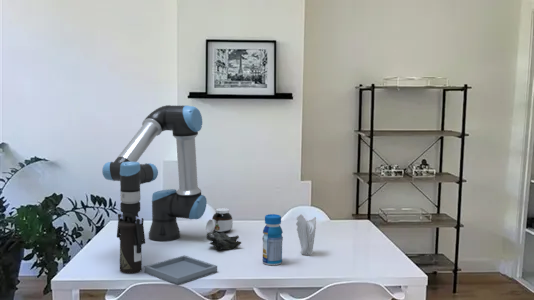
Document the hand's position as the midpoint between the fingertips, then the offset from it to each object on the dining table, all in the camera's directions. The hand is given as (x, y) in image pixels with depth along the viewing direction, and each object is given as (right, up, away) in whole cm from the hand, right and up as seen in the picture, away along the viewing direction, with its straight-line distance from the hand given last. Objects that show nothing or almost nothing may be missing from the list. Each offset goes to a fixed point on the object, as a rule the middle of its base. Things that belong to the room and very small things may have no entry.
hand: (130, 258), depth 206 cm
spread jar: (+29, 0, +61) cm, 68 cm away
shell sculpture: (+71, -4, +26) cm, 76 cm away
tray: (+20, -5, -1) cm, 21 cm away
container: (0, -5, 0) cm, 5 cm away
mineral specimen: (+34, -3, +32) cm, 47 cm away
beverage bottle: (+56, -5, +13) cm, 57 cm away
